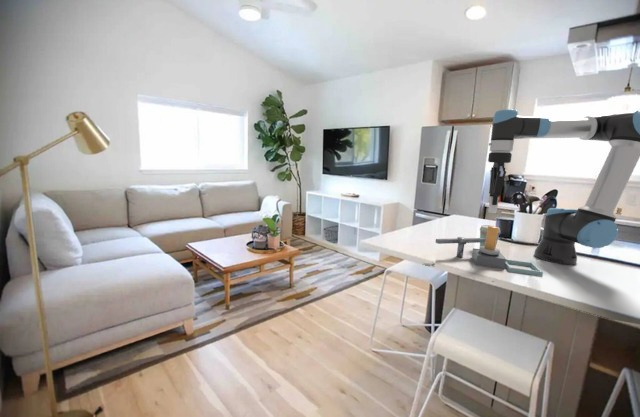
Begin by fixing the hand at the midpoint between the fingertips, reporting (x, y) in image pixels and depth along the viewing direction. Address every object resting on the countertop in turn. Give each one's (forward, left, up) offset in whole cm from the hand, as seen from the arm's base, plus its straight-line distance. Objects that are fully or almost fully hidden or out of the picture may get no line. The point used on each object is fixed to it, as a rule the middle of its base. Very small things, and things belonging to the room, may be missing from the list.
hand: (492, 212), depth 119 cm
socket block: (+3, 0, -22) cm, 22 cm away
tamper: (-1, 0, -21) cm, 21 cm away
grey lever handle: (+9, -3, -22) cm, 24 cm away
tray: (-12, +2, -22) cm, 25 cm away
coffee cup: (-5, -21, -22) cm, 31 cm away
